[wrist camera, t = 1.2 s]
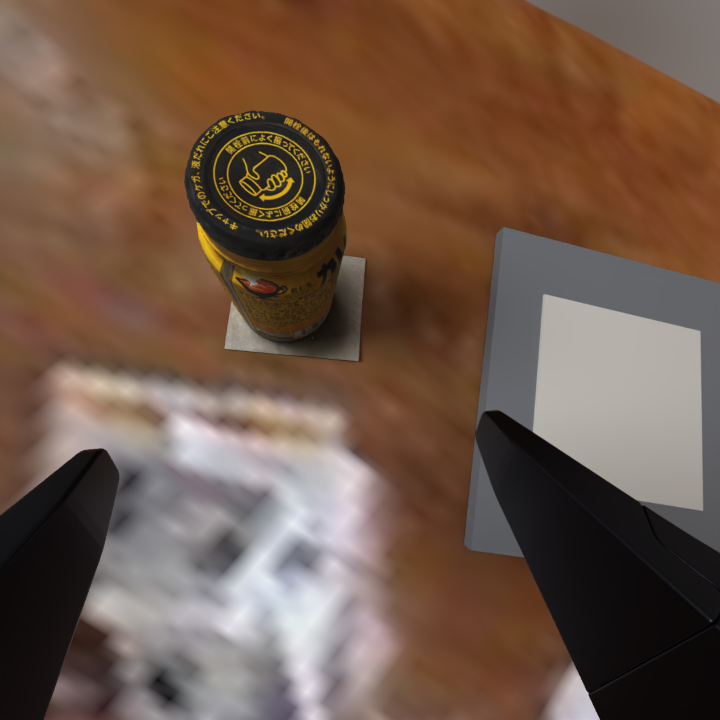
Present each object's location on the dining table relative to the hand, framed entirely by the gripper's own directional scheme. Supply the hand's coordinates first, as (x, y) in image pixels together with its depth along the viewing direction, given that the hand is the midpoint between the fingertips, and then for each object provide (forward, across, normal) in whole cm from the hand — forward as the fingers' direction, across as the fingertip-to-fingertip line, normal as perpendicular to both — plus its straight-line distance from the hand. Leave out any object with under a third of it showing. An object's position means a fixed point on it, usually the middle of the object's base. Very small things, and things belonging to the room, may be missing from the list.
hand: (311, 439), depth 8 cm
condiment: (+16, 0, +4) cm, 16 cm away
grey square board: (+9, -22, +10) cm, 26 cm away
